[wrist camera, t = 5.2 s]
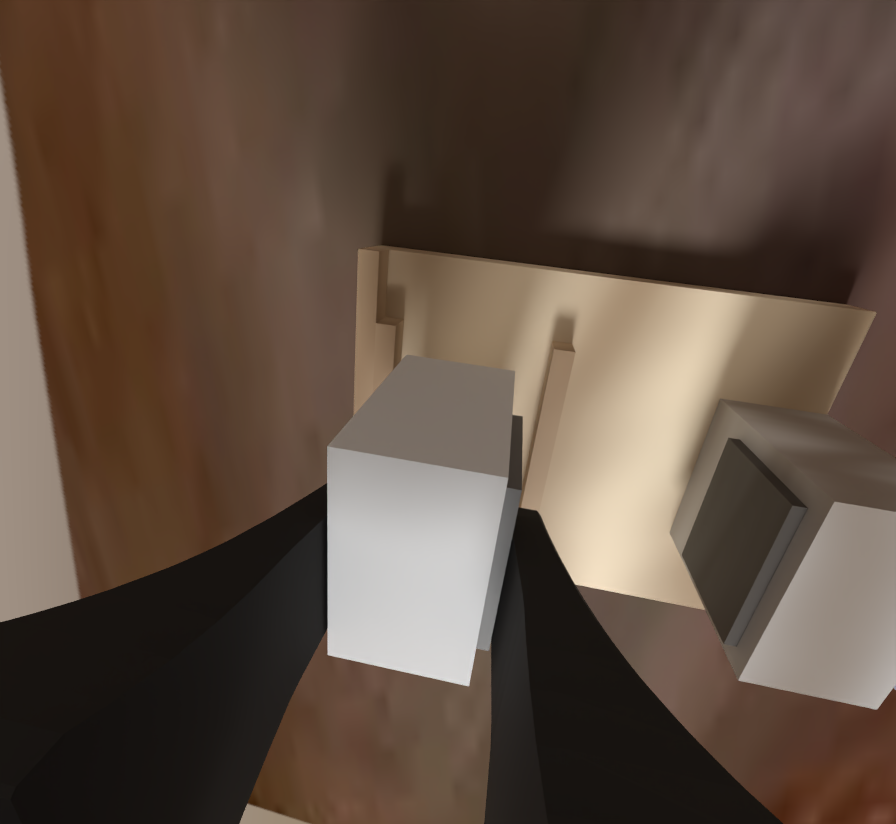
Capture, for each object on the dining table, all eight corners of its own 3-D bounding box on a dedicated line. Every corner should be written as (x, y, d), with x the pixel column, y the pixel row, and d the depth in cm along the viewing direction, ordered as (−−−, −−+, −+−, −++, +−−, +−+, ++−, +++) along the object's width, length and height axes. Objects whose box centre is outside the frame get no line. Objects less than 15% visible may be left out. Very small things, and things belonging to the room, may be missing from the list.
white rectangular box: (526, 372, 12) (527, 481, 7) (498, 523, 14) (483, 689, 9) (406, 354, 12) (327, 446, 7) (395, 504, 14) (328, 654, 10)
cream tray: (847, 304, 13) (1126, 376, 7) (716, 590, 18) (819, 786, 11) (381, 245, 15) (276, 261, 8) (368, 523, 19) (293, 665, 13)
